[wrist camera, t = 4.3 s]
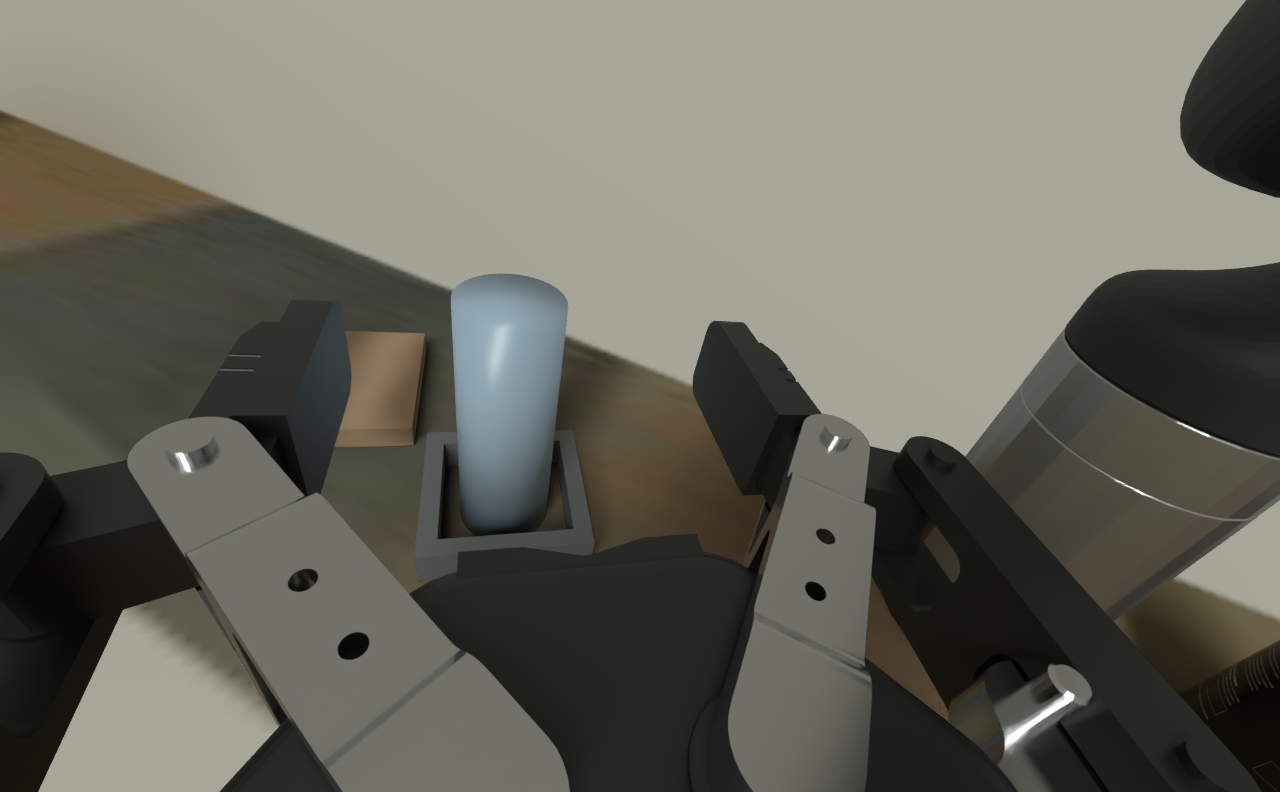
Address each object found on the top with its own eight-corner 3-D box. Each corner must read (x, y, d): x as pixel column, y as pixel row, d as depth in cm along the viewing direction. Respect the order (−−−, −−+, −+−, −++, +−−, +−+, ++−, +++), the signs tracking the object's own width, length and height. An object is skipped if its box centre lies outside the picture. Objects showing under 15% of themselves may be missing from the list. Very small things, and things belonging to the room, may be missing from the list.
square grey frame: (569, 451, 37) (572, 429, 35) (590, 564, 30) (594, 542, 29) (429, 455, 34) (427, 432, 33) (417, 580, 27) (414, 557, 26)
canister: (542, 474, 34) (561, 276, 26) (550, 538, 31) (575, 332, 22) (461, 477, 33) (452, 270, 25) (459, 545, 29) (448, 328, 21)
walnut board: (426, 349, 43) (425, 333, 42) (413, 445, 34) (412, 428, 33) (266, 346, 39) (261, 328, 38) (211, 450, 31) (203, 431, 30)
